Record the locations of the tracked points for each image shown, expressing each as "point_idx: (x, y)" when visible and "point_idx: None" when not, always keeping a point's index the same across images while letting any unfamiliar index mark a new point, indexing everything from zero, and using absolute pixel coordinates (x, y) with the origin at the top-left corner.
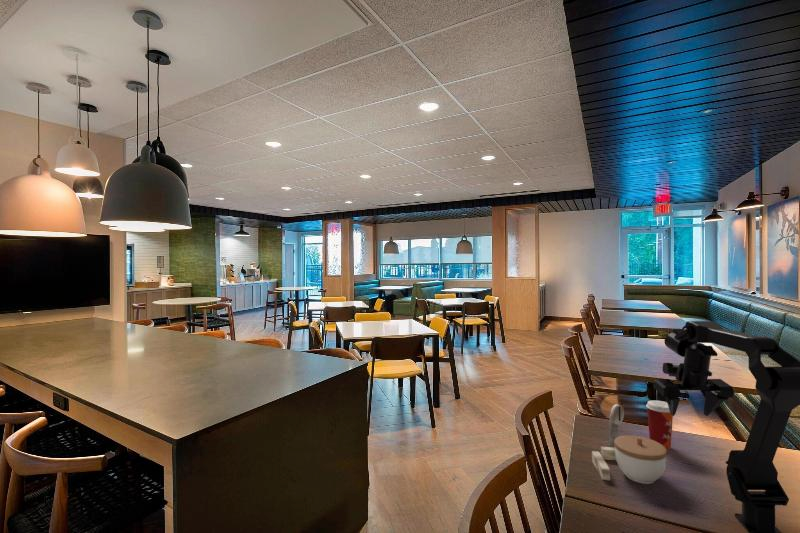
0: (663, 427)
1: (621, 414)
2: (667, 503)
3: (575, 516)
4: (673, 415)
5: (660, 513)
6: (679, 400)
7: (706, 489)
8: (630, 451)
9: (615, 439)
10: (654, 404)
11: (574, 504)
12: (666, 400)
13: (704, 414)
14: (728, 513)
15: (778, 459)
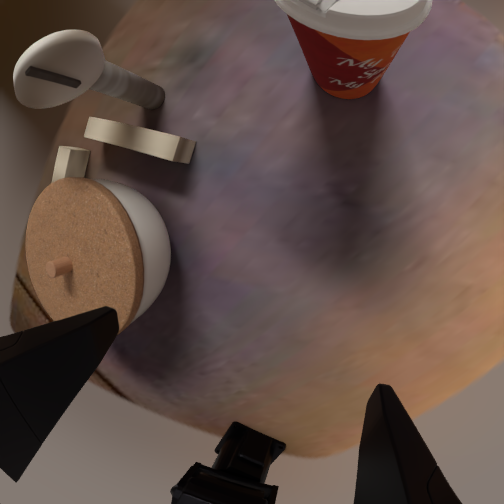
0: (329, 65)
1: (75, 63)
2: (133, 350)
3: (15, 318)
4: (110, 334)
5: (107, 364)
6: (23, 470)
7: (265, 339)
8: (37, 294)
9: (32, 210)
10: None
11: (17, 295)
12: (4, 338)
13: (374, 390)
14: (230, 412)
15: None
